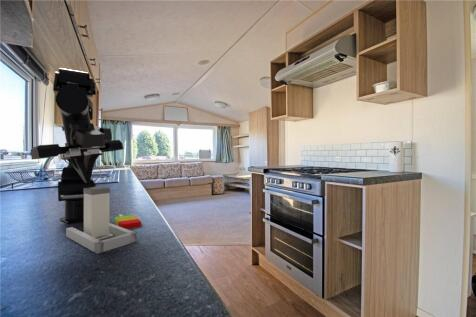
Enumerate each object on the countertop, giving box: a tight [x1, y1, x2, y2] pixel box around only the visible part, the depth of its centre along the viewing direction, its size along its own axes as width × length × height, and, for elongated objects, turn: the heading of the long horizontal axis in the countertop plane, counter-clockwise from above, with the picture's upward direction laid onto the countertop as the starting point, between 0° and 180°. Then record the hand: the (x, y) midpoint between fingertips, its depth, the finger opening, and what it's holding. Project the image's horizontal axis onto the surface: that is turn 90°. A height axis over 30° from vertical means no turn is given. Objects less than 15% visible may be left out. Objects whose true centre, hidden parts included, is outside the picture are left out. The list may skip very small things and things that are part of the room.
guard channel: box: [65, 222, 137, 255], centre depth 55 cm, size 16×8×2 cm, turn 55°
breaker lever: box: [83, 186, 111, 238], centre depth 56 cm, size 4×4×11 cm
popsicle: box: [113, 213, 142, 230], centre depth 69 cm, size 6×15×2 cm, turn 38°
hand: (87, 182), depth 59 cm, fingers closed
